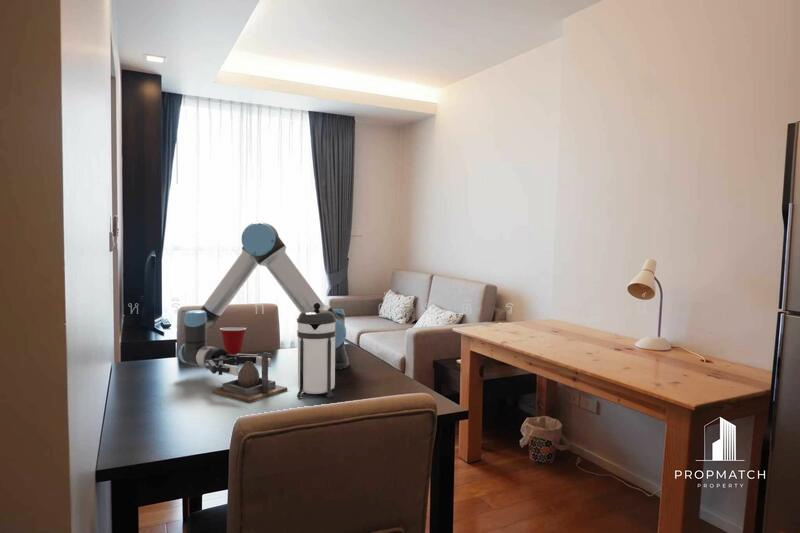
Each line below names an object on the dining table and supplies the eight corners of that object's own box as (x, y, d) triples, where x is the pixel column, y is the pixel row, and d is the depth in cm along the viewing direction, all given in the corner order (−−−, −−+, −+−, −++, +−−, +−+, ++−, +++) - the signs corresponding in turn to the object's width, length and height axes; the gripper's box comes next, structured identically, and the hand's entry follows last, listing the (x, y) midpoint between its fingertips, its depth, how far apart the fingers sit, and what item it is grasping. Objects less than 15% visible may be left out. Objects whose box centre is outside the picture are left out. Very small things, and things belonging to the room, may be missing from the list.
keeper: (250, 381, 180) (250, 342, 180) (288, 390, 170) (288, 349, 170) (212, 392, 167) (212, 350, 166) (250, 403, 157) (250, 358, 156)
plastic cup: (250, 352, 226) (250, 325, 225) (240, 358, 215) (240, 330, 215) (226, 351, 227) (226, 325, 226) (215, 357, 216) (215, 329, 216)
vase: (240, 385, 172) (240, 359, 172) (261, 385, 173) (261, 359, 172) (235, 391, 165) (235, 364, 165) (257, 391, 166) (257, 364, 165)
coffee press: (350, 393, 169) (351, 303, 167) (310, 403, 157) (311, 307, 156) (319, 382, 181) (320, 298, 179) (280, 391, 169) (280, 301, 168)
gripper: (241, 361, 189) (282, 370, 178) (180, 376, 168) (222, 387, 157) (241, 341, 189) (282, 349, 177) (180, 353, 168) (222, 363, 156)
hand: (254, 367), depth 167 cm, fingers open, 13 cm apart
